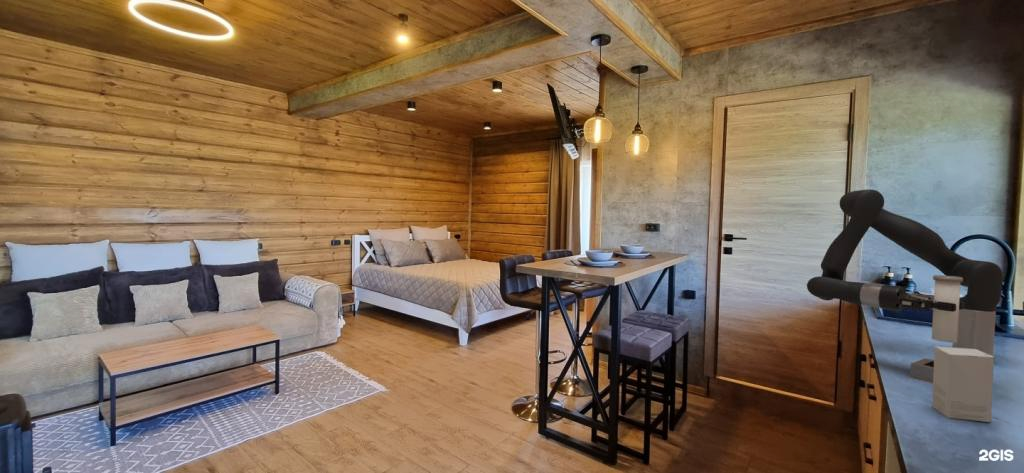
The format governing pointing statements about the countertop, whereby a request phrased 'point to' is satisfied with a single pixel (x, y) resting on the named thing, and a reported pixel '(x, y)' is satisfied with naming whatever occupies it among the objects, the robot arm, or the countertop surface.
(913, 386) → the countertop surface
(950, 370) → the skincare box
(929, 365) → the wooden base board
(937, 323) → the plug
